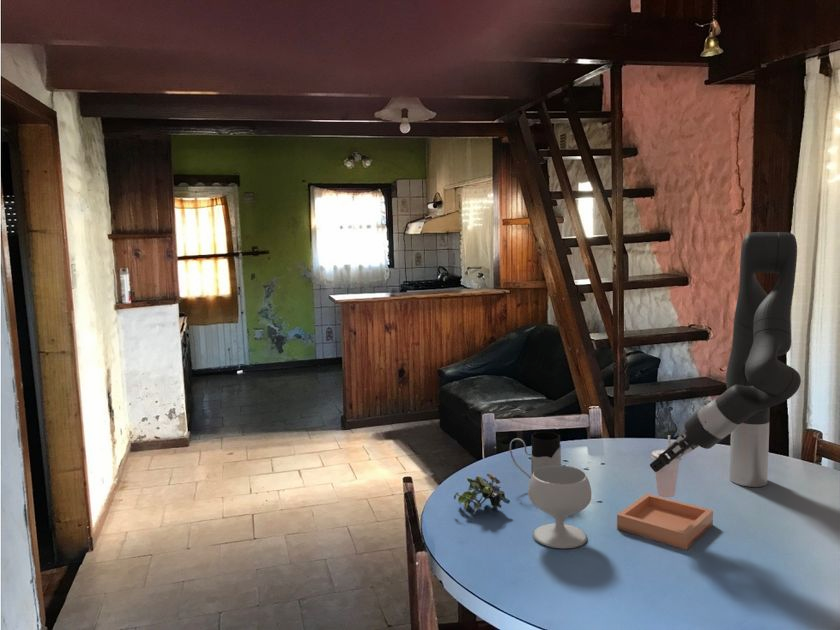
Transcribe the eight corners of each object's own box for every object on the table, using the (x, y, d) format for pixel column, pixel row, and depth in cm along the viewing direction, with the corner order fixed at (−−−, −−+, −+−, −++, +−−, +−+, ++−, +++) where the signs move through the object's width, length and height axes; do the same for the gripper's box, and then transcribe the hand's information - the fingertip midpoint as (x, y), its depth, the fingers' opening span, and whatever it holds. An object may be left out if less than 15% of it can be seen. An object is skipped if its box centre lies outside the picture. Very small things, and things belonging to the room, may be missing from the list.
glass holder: (560, 497, 170) (560, 442, 168) (507, 492, 175) (506, 438, 173) (564, 485, 178) (564, 432, 176) (513, 480, 183) (512, 428, 181)
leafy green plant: (493, 527, 166) (520, 495, 162) (468, 535, 158) (495, 501, 153) (467, 494, 172) (491, 462, 168) (441, 499, 164) (467, 466, 159)
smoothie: (683, 500, 146) (684, 440, 145) (653, 498, 148) (653, 439, 146) (678, 489, 152) (678, 431, 151) (649, 488, 154) (649, 431, 152)
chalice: (555, 558, 138) (554, 490, 136) (516, 532, 151) (515, 470, 149) (604, 542, 145) (605, 477, 143) (563, 519, 157) (563, 459, 155)
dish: (646, 506, 162) (646, 493, 162) (712, 524, 151) (713, 510, 151) (617, 529, 151) (617, 514, 150) (686, 549, 140) (686, 534, 140)
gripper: (712, 402, 148) (660, 443, 157) (687, 416, 137) (634, 459, 147) (736, 429, 145) (682, 469, 154) (713, 445, 134) (657, 487, 144)
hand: (659, 464), depth 150 cm, fingers closed on smoothie, 6 cm apart
